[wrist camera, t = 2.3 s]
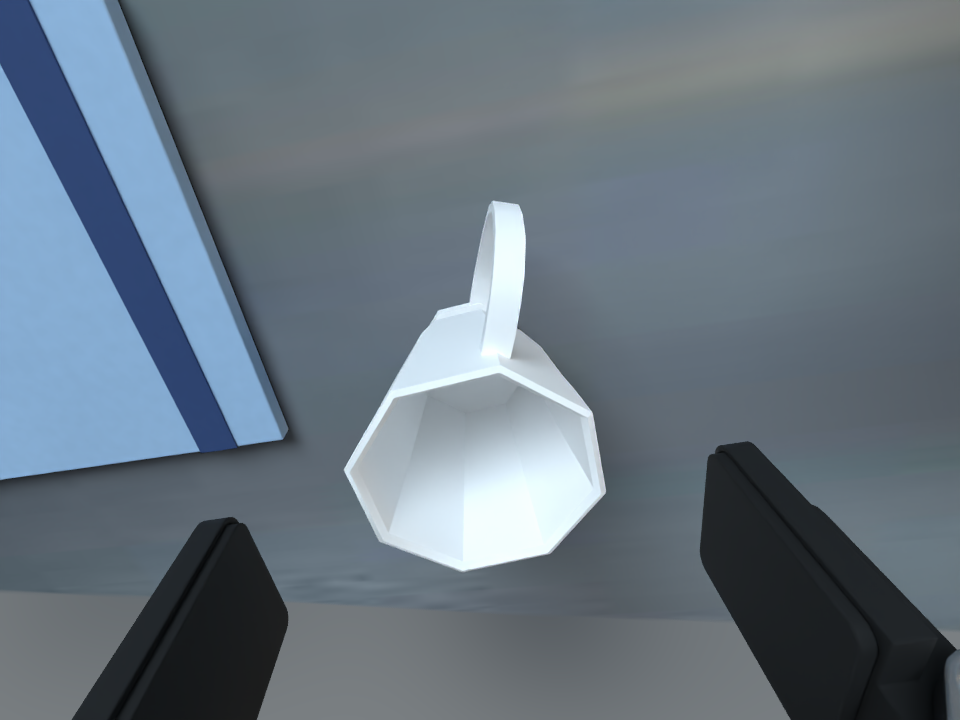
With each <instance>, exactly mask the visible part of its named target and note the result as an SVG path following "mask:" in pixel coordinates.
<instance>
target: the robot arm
mask: <svg viewBox="0 0 960 720" xmlns="http://www.w3.org/2000/svg"><path fill="white" fill-rule="evenodd" d="M700 556H701V560H702V563H703V566H704V568H705V570H706V572H707V574H708V575H709V577H710V579H711V581H712V583H713V584H714V586H715V588H716V590H717V591H718V593H719V595H720V597H721V598H722V600H723V602H724V604H725V605H726V607H727V609H728V611H729V612H730V614H731V616H732V618H733V619H734V621H735V623H736V625H737V626H738V628H739V630H740V632H741V633H742V635H743V637H744V639H745V640H746V642H747V644H748V645H749V647H750V649H751V651H752V653H753V654H754V656H755V658H756V660H757V661H758V663H759V665H760V667H761V668H762V670H763V672H764V674H765V675H766V677H767V679H768V681H769V682H770V684H771V686H772V688H773V689H774V691H775V693H776V694H777V696H778V698H779V700H780V702H781V703H782V705H783V707H784V709H785V710H786V712H787V714H788V716H789V717H790V719H791V720H960V650H957V649H956V648H955V647H954V646H953V645H952V644H951V643H950V642H949V641H948V640H947V639H946V638H945V637H944V636H943V635H942V634H941V633H940V632H939V631H938V630H937V629H936V628H935V627H934V626H933V625H932V624H931V622H930V621H929V620H928V619H927V618H926V617H925V616H924V615H923V614H922V613H921V612H920V611H919V610H918V609H917V608H916V607H915V606H914V605H913V604H912V603H911V602H910V601H909V600H908V599H907V598H906V597H905V596H904V595H903V593H902V592H901V591H900V590H899V589H898V588H897V587H896V586H895V585H894V584H893V583H892V582H891V581H890V580H889V579H888V578H887V577H886V576H885V575H884V574H883V573H882V572H881V571H880V570H879V569H878V568H877V567H876V566H875V565H874V563H873V562H872V561H871V560H870V559H869V558H868V557H867V556H866V555H865V554H864V553H863V552H862V551H861V550H860V549H859V548H858V547H857V546H856V545H855V544H854V543H853V542H852V541H851V540H850V539H849V538H848V537H847V536H846V534H845V533H844V532H843V531H842V530H841V529H840V528H839V527H838V526H837V525H836V524H835V523H834V522H833V521H832V520H831V519H830V518H829V517H828V516H827V515H826V514H825V513H824V512H823V511H822V510H820V509H819V508H818V507H816V506H814V505H811V504H810V503H809V502H808V501H807V500H806V498H805V497H804V496H803V495H802V494H801V493H800V492H799V491H798V490H797V489H796V488H795V487H794V486H793V485H792V484H791V483H790V482H789V481H788V480H787V479H786V477H785V476H784V475H783V474H782V473H781V472H780V471H779V470H778V469H777V468H776V467H775V466H774V465H773V464H772V463H771V462H770V461H769V460H768V459H767V458H766V456H765V455H764V454H763V453H762V452H761V451H760V450H759V449H758V448H757V447H756V446H755V445H754V444H752V443H751V442H748V441H747V442H740V443H734V444H727V445H720V446H718V447H717V448H716V451H715V454H711V455H709V457H708V461H707V473H706V485H705V496H704V508H703V520H702V531H701V543H700ZM287 626H288V611H287V608H286V606H285V604H284V602H283V600H282V598H281V596H280V594H279V592H278V590H277V588H276V586H275V584H274V581H273V579H272V577H271V575H270V573H269V571H268V569H267V567H266V565H265V563H264V561H263V559H262V557H261V555H260V553H259V551H258V549H257V547H256V544H255V542H254V540H253V538H252V536H251V534H250V532H249V530H248V528H247V526H246V525H245V524H243V523H239V522H238V521H237V519H235V518H233V517H228V518H221V519H215V520H208V521H203V522H201V523H199V525H198V526H197V527H196V528H195V530H194V531H193V533H192V534H191V536H190V538H189V539H188V541H187V542H186V544H185V545H184V547H183V548H182V550H181V551H180V553H179V555H178V556H177V558H176V559H175V561H174V562H173V564H172V565H171V567H170V568H169V570H168V572H167V573H166V575H165V576H164V578H163V579H162V581H161V582H160V584H159V585H158V587H157V589H156V590H155V592H154V593H153V595H152V596H151V598H150V599H149V601H148V602H147V604H146V606H145V607H144V609H143V610H142V612H141V613H140V615H139V616H138V618H137V619H136V621H135V623H134V624H133V626H132V627H131V629H130V630H129V632H128V633H127V635H126V637H125V638H124V640H123V641H122V643H121V644H120V646H119V647H118V649H117V651H116V653H115V654H114V655H113V657H112V658H111V660H110V661H109V663H108V664H107V666H106V667H105V669H104V671H103V672H102V674H101V675H100V677H99V678H98V680H97V681H96V683H95V685H94V686H93V688H92V689H91V691H90V692H89V694H88V695H87V697H86V698H85V700H84V701H83V703H82V705H81V706H80V708H79V709H78V711H77V712H76V714H75V716H74V717H73V719H72V720H257V717H258V714H259V711H260V708H261V705H262V702H263V699H264V696H265V693H266V690H267V687H268V684H269V681H270V678H271V675H272V672H273V669H274V666H275V663H276V660H277V657H278V654H279V651H280V648H281V645H282V642H283V639H284V636H285V633H286V630H287Z"/></svg>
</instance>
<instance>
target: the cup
mask: <svg viewBox="0 0 960 720" xmlns="http://www.w3.org/2000/svg"><path fill="white" fill-rule="evenodd" d="M525 242H526V236H525V229H524V222H523V215H522V212H521V209H520V207H519V205H518V204H511V203H504V202H497V201H492V202H491V204H490V205H489V208H488V212H487V215H486V219H485V223H484V227H483V232H482V237H481V241H480V246H479V251H478V256H477V261H476V266H475V271H474V277H473V282H472V288H471V295H470V302H469V303H466V304H462V305H458V306H454V307H450V308H446V309H442V310H438V312H437V313H436V315H435V317H434V318H433V320H432V322H431V324H430V325H429V327H428V328H426V329H425V330H424V331H423V332H422V334H421V335H420V337H419V339H418V341H417V342H416V344H415V346H414V347H413V349H412V351H411V353H410V354H409V356H408V358H407V359H406V361H405V363H404V365H403V366H402V368H401V370H400V371H399V373H398V375H397V376H396V378H395V380H394V382H393V383H392V385H391V387H390V389H389V391H388V393H387V394H386V396H385V398H384V400H383V402H382V404H381V405H380V407H379V409H378V411H377V413H376V414H375V416H374V418H373V420H372V421H371V423H370V425H369V426H368V428H367V430H366V431H365V433H364V435H363V437H362V438H361V440H360V442H359V443H358V445H357V447H356V449H355V451H354V452H353V454H352V456H351V458H350V460H349V461H348V463H347V465H346V467H345V469H344V471H345V473H346V475H347V477H348V479H349V481H350V483H351V485H352V487H353V489H354V491H355V493H356V495H357V497H358V499H359V501H360V503H361V505H362V507H363V509H364V511H365V513H366V515H367V517H368V520H369V522H370V524H371V526H372V528H373V530H374V532H375V534H376V536H377V538H378V540H379V542H382V543H385V544H387V545H390V546H393V547H395V548H398V549H401V550H404V551H406V552H409V553H412V554H414V555H417V556H420V557H422V558H425V559H428V560H430V561H433V562H436V563H438V564H441V565H444V566H446V567H449V568H452V569H455V570H457V571H460V572H465V571H470V570H475V569H480V568H485V567H489V566H494V565H499V564H504V563H509V562H513V561H518V560H523V559H528V558H533V557H537V556H542V555H547V554H551V553H552V551H553V550H554V549H555V548H556V547H557V546H558V545H559V544H560V543H561V542H562V540H563V539H564V538H565V537H566V536H567V535H568V534H569V533H570V532H571V531H572V529H573V528H574V527H575V526H576V525H577V524H578V523H579V522H580V521H581V520H582V518H583V517H584V516H585V515H586V514H587V513H588V512H589V511H590V510H591V509H592V508H593V506H594V505H595V504H596V503H597V502H598V501H599V500H600V499H601V498H602V497H603V495H604V494H605V493H606V488H605V482H604V476H603V470H602V465H601V459H600V453H599V447H598V441H597V436H596V430H595V424H594V418H593V412H592V411H591V410H590V409H589V407H588V406H587V405H586V403H585V402H584V401H583V400H582V398H581V397H580V396H579V394H578V393H577V392H576V391H575V389H574V388H573V387H572V386H571V385H570V383H569V382H568V381H567V380H566V379H565V377H564V376H563V375H562V374H561V373H560V371H559V370H558V369H557V367H556V366H555V365H554V363H553V362H552V361H551V359H550V358H549V357H548V355H547V354H546V353H545V352H544V350H543V349H542V348H541V346H540V345H538V344H537V343H536V342H534V341H533V340H532V339H531V338H529V337H528V336H527V335H526V334H524V333H523V332H522V331H521V330H519V329H517V324H518V318H519V312H520V306H521V299H522V291H523V283H524V274H525Z"/></svg>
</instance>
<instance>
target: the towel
mask: <svg viewBox="0 0 960 720" xmlns="http://www.w3.org/2000/svg"><path fill="white" fill-rule="evenodd" d="M287 431H288V426H287V424H286V421H285V419H284V416H283V414H282V411H281V409H280V406H279V404H278V401H277V399H276V396H275V394H274V391H273V389H272V386H271V384H270V381H269V379H268V376H267V374H266V371H265V369H264V366H263V364H262V361H261V359H260V356H259V354H258V351H257V349H256V346H255V344H254V341H253V339H252V336H251V334H250V331H249V329H248V326H247V324H246V321H245V319H244V316H243V314H242V311H241V309H240V306H239V304H238V301H237V298H236V296H235V293H234V291H233V288H232V286H231V283H230V281H229V278H228V276H227V273H226V271H225V268H224V266H223V263H222V261H221V258H220V256H219V253H218V251H217V248H216V246H215V243H214V241H213V238H212V236H211V233H210V231H209V228H208V226H207V223H206V221H205V218H204V216H203V213H202V211H201V208H200V206H199V203H198V201H197V198H196V196H195V193H194V191H193V188H192V186H191V183H190V181H189V178H188V176H187V173H186V170H185V168H184V165H183V163H182V160H181V158H180V155H179V153H178V150H177V148H176V145H175V143H174V140H173V138H172V135H171V133H170V130H169V128H168V125H167V123H166V120H165V118H164V115H163V113H162V110H161V108H160V105H159V103H158V100H157V98H156V95H155V93H154V90H153V88H152V85H151V83H150V80H149V78H148V75H147V73H146V70H145V68H144V65H143V63H142V60H141V58H140V55H139V53H138V50H137V48H136V45H135V43H134V40H133V37H132V35H131V32H130V30H129V27H128V25H127V22H126V20H125V17H124V15H123V12H122V10H121V7H120V5H119V2H118V0H0V480H2V479H9V478H16V477H23V476H31V475H38V474H45V473H52V472H59V471H66V470H73V469H80V468H87V467H94V466H101V465H108V464H115V463H122V462H129V461H136V460H143V459H150V458H157V457H164V456H171V455H178V454H185V453H192V452H199V451H200V452H201V453H205V452H212V451H219V450H226V449H233V448H237V447H238V446H241V445H249V444H256V443H263V442H270V441H277V440H282V439H284V437H285V435H286V433H287Z"/></svg>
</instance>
